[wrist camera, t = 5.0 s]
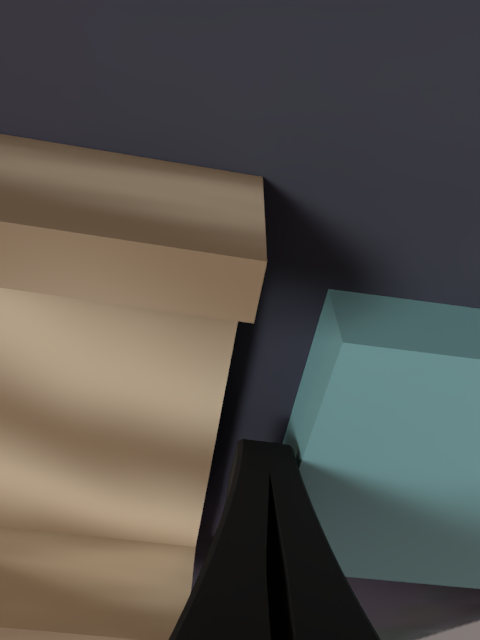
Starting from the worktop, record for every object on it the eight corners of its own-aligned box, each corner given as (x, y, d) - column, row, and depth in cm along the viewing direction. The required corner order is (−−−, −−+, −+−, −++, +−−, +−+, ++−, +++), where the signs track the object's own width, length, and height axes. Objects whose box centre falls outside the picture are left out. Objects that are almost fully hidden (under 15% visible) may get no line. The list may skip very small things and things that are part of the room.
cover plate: (480, 520, 16) (511, 591, 14) (262, 498, 16) (264, 569, 14) (643, 321, 11) (729, 390, 9) (325, 279, 10) (342, 342, 8)
